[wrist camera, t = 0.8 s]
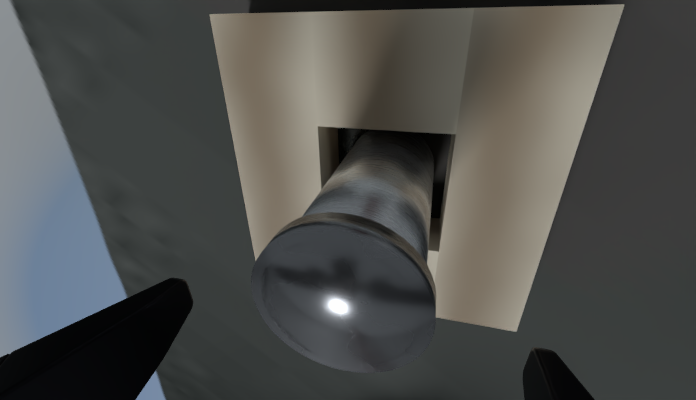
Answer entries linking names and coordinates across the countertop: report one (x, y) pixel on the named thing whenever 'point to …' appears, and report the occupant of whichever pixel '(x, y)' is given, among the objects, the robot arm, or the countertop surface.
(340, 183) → the metal pin
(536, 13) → the socket block
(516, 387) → the countertop surface
